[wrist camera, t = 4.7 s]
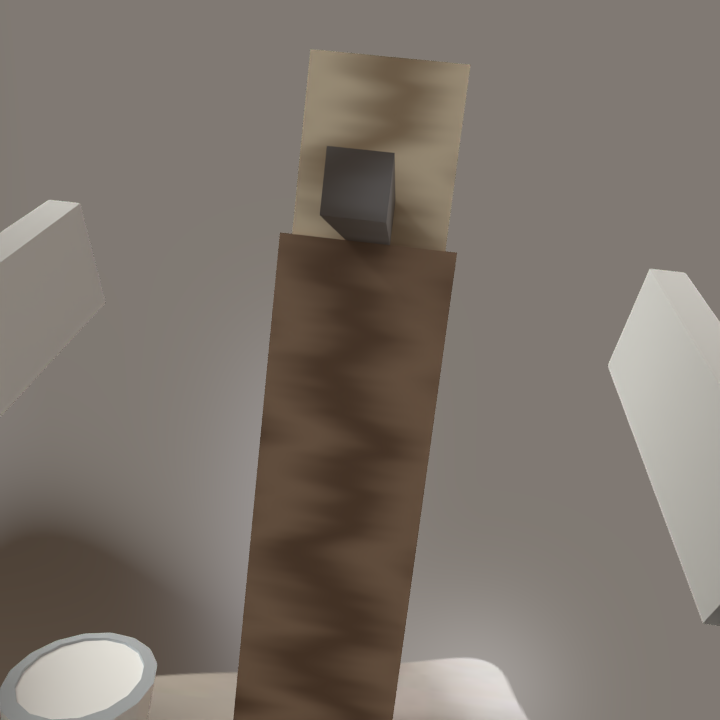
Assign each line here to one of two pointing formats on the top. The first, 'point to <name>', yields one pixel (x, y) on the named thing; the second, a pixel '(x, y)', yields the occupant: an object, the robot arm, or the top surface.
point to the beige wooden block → (379, 149)
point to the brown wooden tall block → (340, 476)
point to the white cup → (82, 680)
